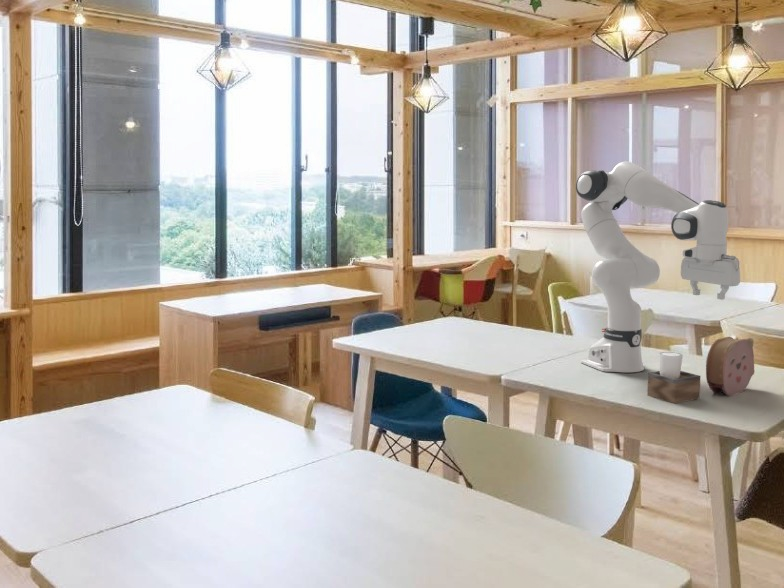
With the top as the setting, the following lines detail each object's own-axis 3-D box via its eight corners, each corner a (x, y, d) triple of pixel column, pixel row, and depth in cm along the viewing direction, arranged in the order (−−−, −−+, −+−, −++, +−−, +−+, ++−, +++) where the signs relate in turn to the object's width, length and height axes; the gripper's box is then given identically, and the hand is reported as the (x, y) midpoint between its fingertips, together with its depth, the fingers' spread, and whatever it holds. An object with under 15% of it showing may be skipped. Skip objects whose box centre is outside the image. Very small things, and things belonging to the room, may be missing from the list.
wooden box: (647, 395, 248) (648, 372, 247) (671, 390, 253) (672, 368, 252) (674, 403, 239) (676, 380, 238) (699, 398, 244) (700, 375, 243)
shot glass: (653, 375, 248) (654, 352, 247) (669, 372, 251) (670, 350, 250) (669, 380, 242) (670, 357, 241) (686, 377, 245) (687, 355, 244)
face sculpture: (724, 399, 243) (727, 345, 240) (703, 395, 248) (705, 341, 245) (754, 387, 256) (757, 336, 253) (733, 383, 261) (736, 333, 259)
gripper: (746, 255, 244) (743, 301, 246) (692, 249, 261) (690, 291, 264) (732, 257, 241) (729, 302, 243) (678, 250, 258) (676, 293, 261)
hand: (708, 297), depth 253 cm, fingers open, 8 cm apart
